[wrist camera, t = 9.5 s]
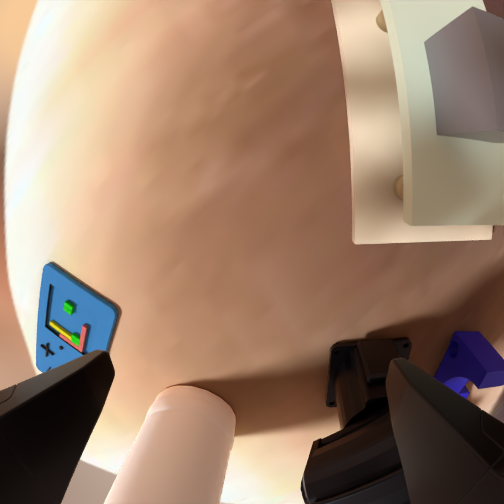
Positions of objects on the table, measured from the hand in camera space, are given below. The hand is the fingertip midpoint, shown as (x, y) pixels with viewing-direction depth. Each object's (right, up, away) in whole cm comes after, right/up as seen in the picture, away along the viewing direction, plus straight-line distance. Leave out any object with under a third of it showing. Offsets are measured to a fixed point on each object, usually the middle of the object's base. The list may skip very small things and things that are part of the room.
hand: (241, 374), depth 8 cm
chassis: (+12, +13, +7) cm, 19 cm away
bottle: (-5, -11, +17) cm, 21 cm away
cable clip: (+19, -9, +14) cm, 25 cm away
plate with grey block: (+11, +12, +3) cm, 17 cm away
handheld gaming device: (-17, -5, +17) cm, 25 cm away
